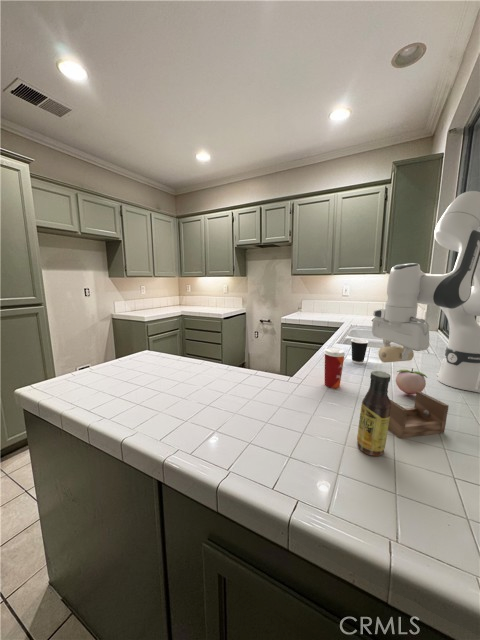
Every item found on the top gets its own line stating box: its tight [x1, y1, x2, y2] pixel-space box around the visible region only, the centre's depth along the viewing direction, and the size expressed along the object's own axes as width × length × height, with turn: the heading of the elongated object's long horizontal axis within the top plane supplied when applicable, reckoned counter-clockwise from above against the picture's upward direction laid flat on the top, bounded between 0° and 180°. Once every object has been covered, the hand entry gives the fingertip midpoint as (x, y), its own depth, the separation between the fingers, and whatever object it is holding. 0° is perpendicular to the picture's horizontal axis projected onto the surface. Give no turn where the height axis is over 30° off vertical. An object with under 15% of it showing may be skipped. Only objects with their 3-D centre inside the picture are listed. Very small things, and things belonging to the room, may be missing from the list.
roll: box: [378, 345, 415, 363], centre depth 87 cm, size 9×5×5 cm, turn 102°
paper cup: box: [323, 347, 346, 389], centre depth 102 cm, size 8×8×14 cm
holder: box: [388, 391, 449, 440], centre depth 75 cm, size 14×9×8 cm, turn 102°
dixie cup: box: [350, 338, 369, 365], centre depth 130 cm, size 8×8×11 cm
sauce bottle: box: [356, 370, 391, 457], centre depth 63 cm, size 6×6×20 cm
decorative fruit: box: [395, 368, 428, 396], centre depth 95 cm, size 9×8×10 cm
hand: (395, 356), depth 88 cm, fingers closed on roll, 5 cm apart
